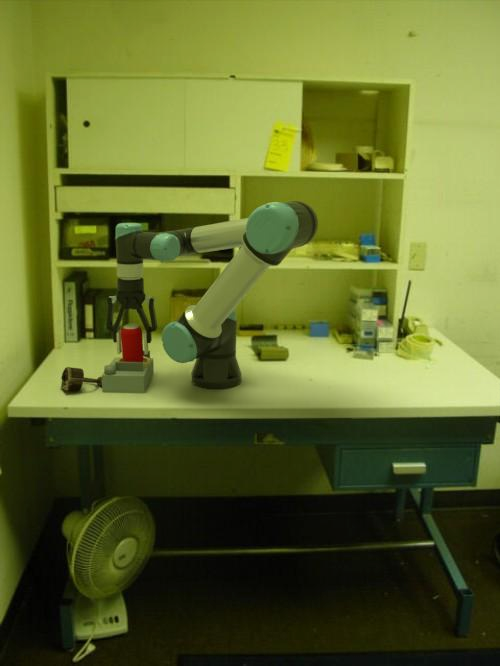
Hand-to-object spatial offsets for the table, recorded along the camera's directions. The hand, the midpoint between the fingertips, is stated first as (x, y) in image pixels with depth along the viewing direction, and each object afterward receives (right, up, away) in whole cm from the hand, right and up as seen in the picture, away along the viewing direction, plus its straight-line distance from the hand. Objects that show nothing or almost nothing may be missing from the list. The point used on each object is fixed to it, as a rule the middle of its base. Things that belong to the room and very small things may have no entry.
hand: (132, 352), depth 184 cm
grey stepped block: (-1, -9, 0) cm, 9 cm away
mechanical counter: (-13, -11, -6) cm, 18 cm away
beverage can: (0, -3, +1) cm, 4 cm away
